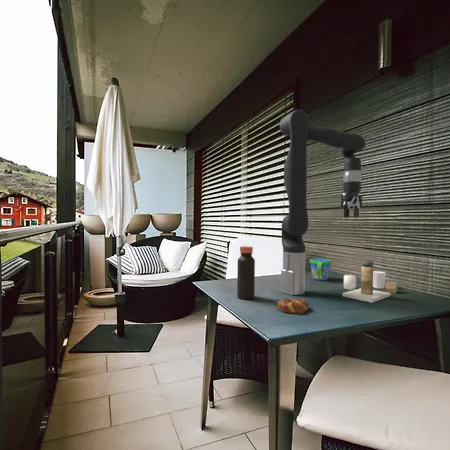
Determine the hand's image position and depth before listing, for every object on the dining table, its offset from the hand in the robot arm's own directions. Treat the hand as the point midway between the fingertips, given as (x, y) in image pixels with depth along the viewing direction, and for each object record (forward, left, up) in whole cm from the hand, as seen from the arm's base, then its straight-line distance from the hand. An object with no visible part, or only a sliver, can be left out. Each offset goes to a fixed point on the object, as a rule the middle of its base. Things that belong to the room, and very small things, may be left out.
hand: (351, 217), depth 138 cm
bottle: (-50, +16, -32) cm, 62 cm away
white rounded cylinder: (-1, -1, -32) cm, 32 cm away
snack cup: (+5, +19, -32) cm, 38 cm away
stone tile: (-9, -12, -32) cm, 35 cm away
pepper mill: (-9, -12, -31) cm, 34 cm away
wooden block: (+7, -15, -32) cm, 36 cm away
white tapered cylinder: (+12, -7, -32) cm, 35 cm away
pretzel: (-47, -5, -33) cm, 58 cm away
